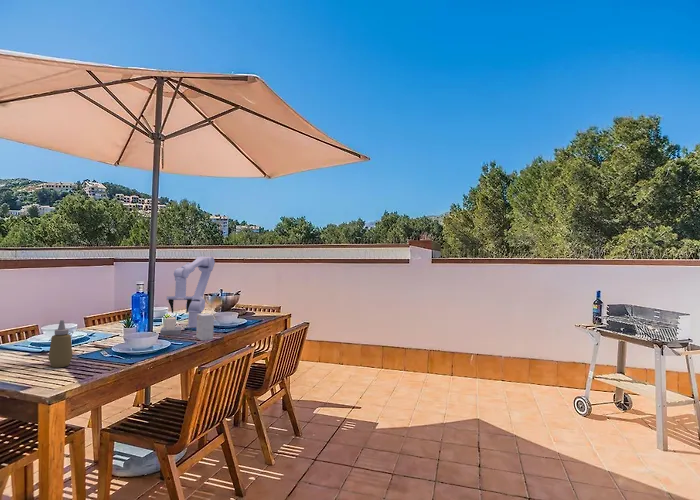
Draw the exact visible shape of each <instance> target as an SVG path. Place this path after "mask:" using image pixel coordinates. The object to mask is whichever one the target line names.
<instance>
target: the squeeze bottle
mask: <svg viewBox="0 0 700 500" xmlns="http://www.w3.org/2000/svg"><path fill="white" fill-rule="evenodd" d="M72 359H73V346H72V335H70V334H69V329H68V328H66V325H65V320H64V319H62V320H60V321H59V324H58V328H57V329H54V335H52V336H51V339H50V346H49V351H48V360H49V363H50V367H51V368H57V369H58V368H65V367H68V366H69V365H70V363H71V361H72Z"/></svg>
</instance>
